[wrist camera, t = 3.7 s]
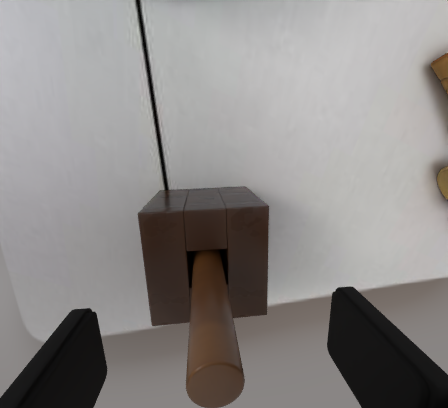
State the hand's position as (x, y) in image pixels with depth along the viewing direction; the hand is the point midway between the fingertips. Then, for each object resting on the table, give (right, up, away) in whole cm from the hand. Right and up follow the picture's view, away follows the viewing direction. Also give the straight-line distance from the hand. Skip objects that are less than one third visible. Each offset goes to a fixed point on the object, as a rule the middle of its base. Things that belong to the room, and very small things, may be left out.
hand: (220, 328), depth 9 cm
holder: (-2, +3, +11) cm, 12 cm away
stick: (-2, +3, +11) cm, 12 cm away
